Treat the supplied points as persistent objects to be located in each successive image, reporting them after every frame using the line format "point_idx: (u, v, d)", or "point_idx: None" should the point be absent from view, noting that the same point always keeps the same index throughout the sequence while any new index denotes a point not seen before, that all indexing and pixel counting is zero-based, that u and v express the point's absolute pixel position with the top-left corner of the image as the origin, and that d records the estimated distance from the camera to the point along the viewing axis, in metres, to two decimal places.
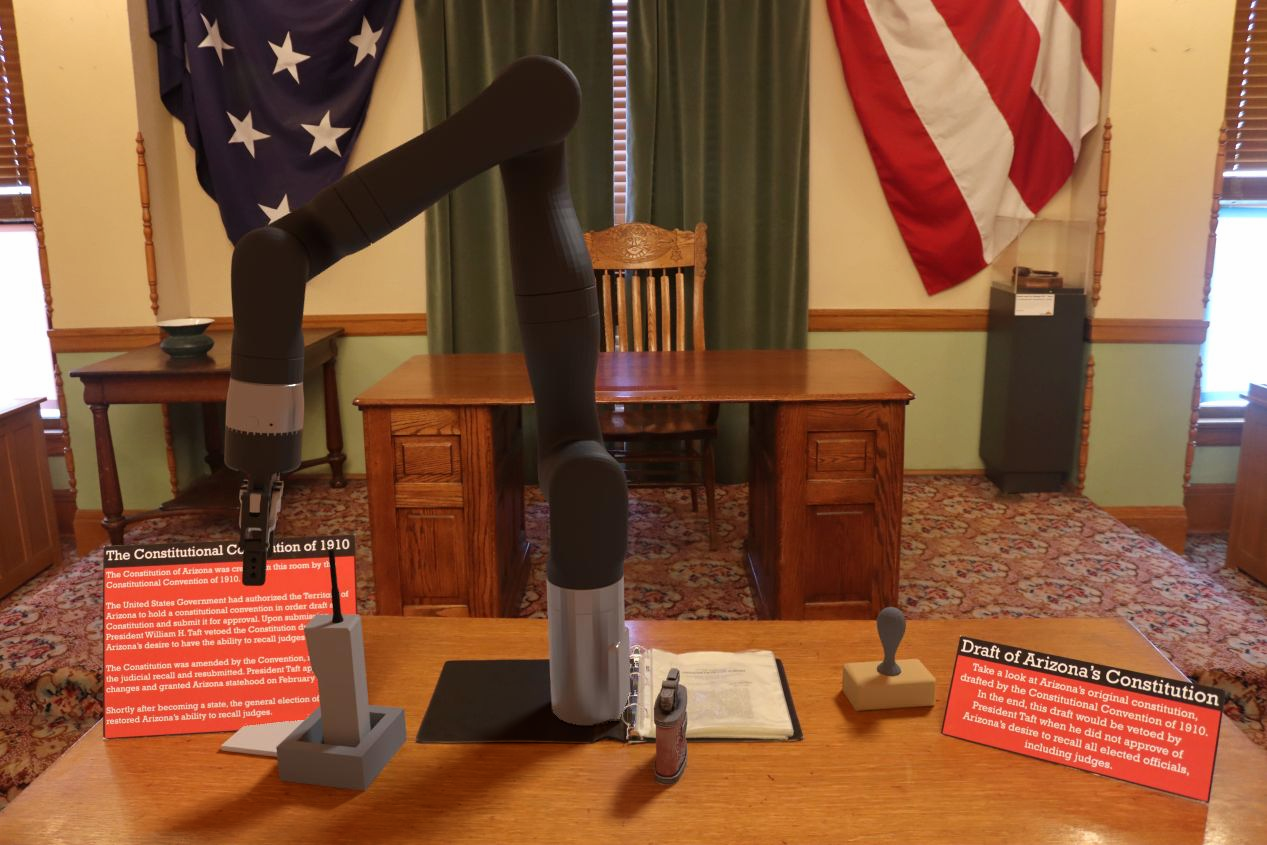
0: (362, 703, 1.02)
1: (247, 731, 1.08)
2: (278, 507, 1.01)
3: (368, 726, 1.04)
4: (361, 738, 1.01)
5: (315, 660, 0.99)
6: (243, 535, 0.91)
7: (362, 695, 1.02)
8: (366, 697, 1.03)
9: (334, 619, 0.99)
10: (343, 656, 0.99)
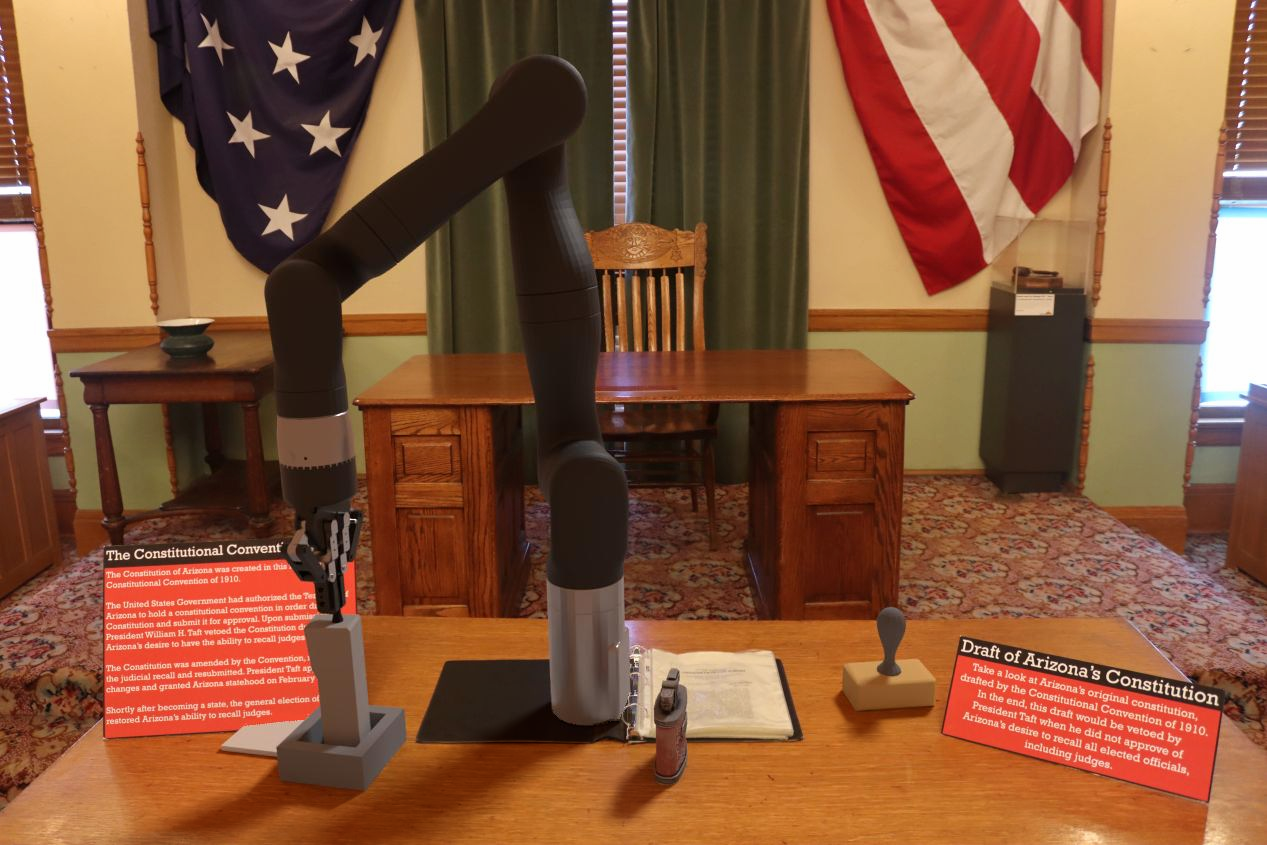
0: (362, 703, 1.02)
1: (247, 731, 1.08)
2: (342, 545, 0.98)
3: (368, 726, 1.04)
4: (361, 738, 1.01)
5: (315, 660, 0.99)
6: (298, 574, 0.95)
7: (362, 695, 1.02)
8: (366, 697, 1.03)
9: (334, 619, 0.99)
10: (343, 656, 0.99)
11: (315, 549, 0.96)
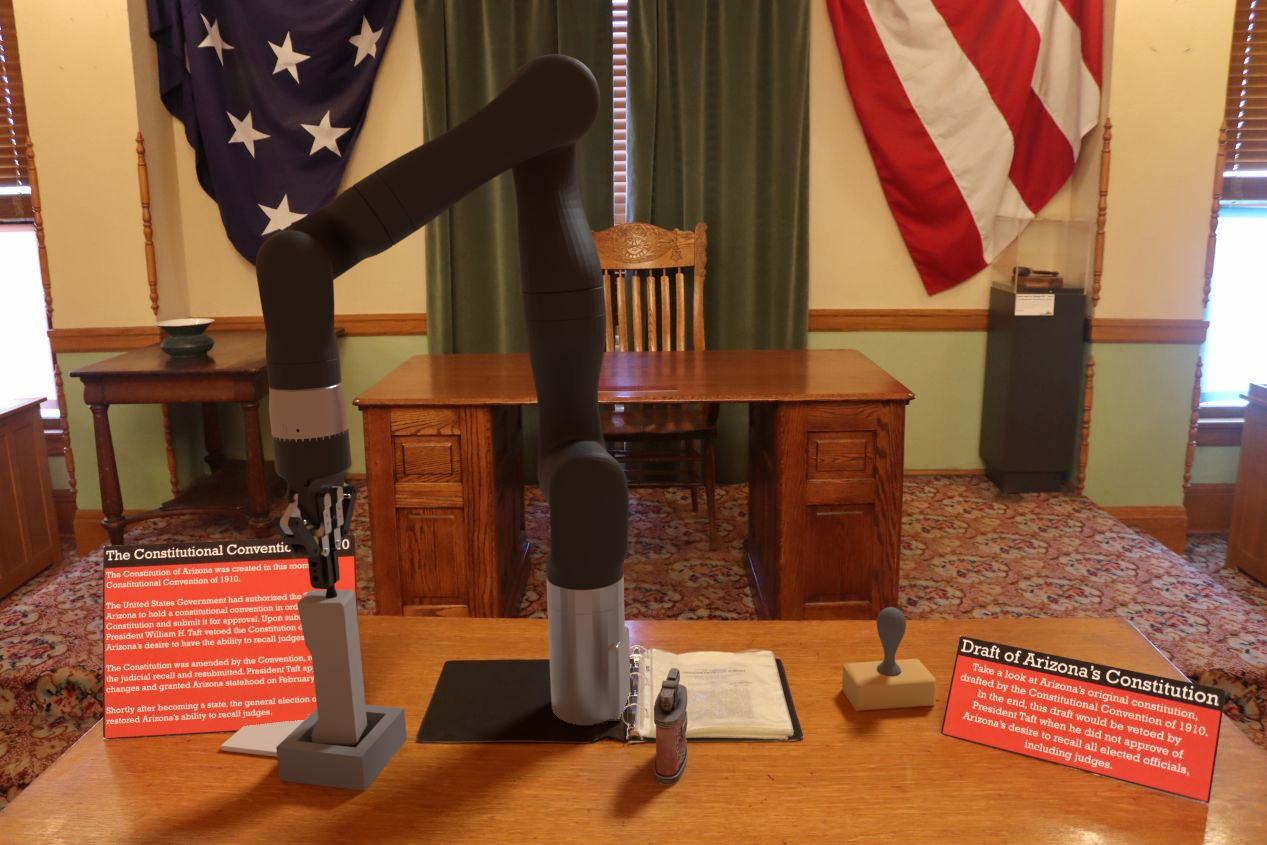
0: (356, 679, 1.01)
1: (247, 731, 1.08)
2: (335, 520, 0.98)
3: (363, 703, 1.03)
4: (356, 714, 1.01)
5: (309, 635, 0.98)
6: (291, 548, 0.94)
7: (356, 671, 1.01)
8: (361, 674, 1.03)
9: (328, 594, 0.99)
10: (337, 632, 0.98)
11: (308, 523, 0.95)
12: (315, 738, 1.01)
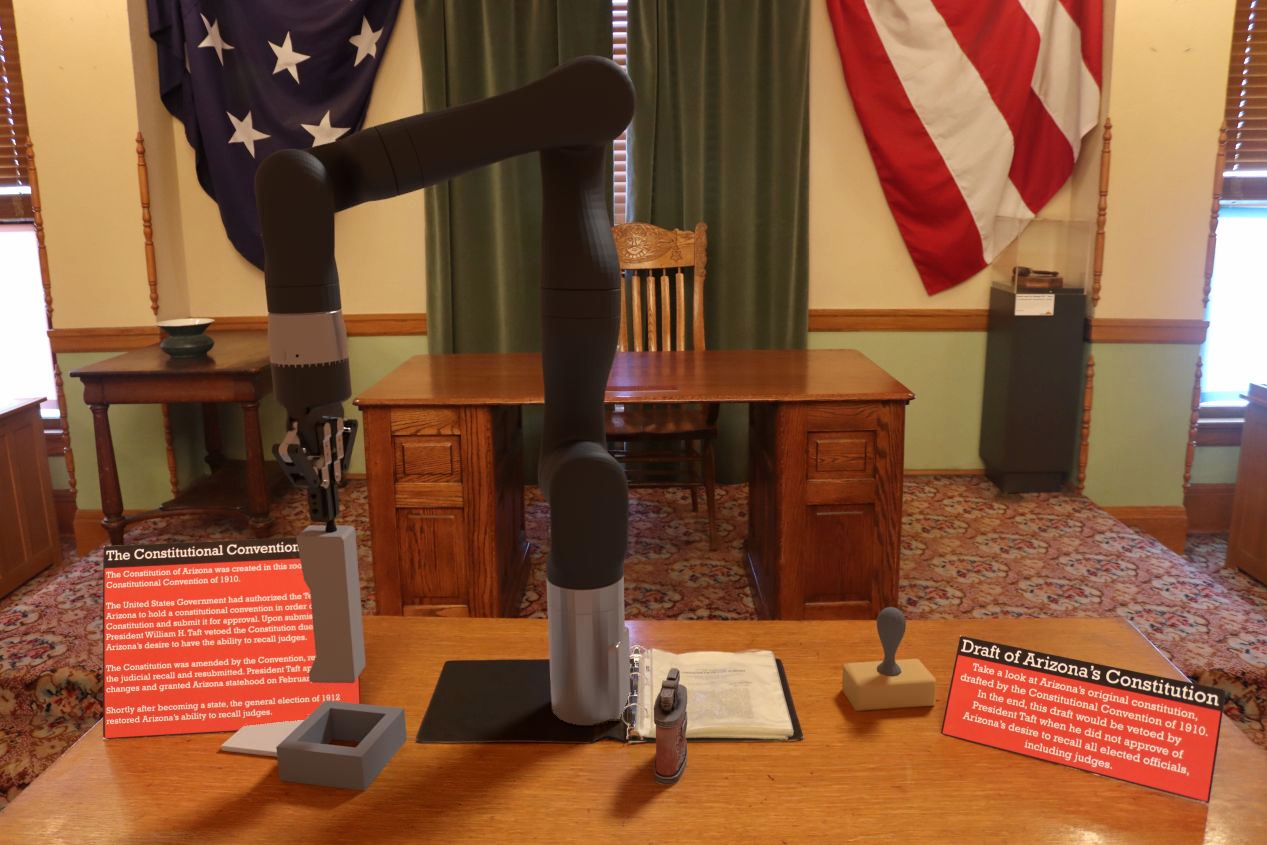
0: (355, 617, 1.00)
1: (247, 731, 1.08)
2: (335, 452, 0.96)
3: (361, 642, 1.01)
4: (354, 652, 0.99)
5: (307, 570, 0.97)
6: (290, 478, 0.92)
7: (355, 608, 0.99)
8: (360, 612, 1.01)
9: (327, 528, 0.97)
10: (336, 566, 0.96)
11: (308, 453, 0.93)
12: (313, 676, 0.99)
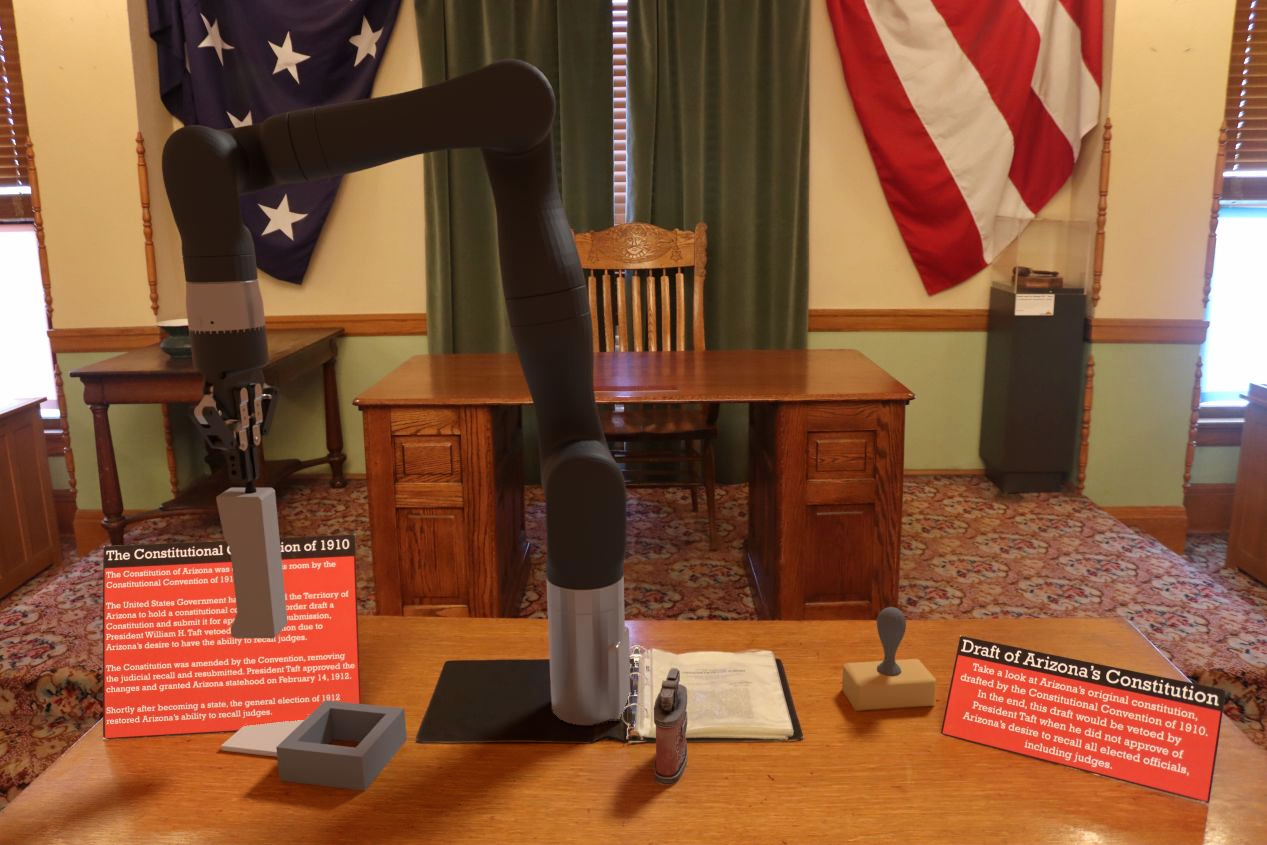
0: (275, 575, 1.04)
1: (247, 731, 1.08)
2: (254, 416, 1.01)
3: (283, 600, 1.06)
4: (274, 609, 1.04)
5: (227, 529, 1.01)
6: (208, 439, 0.97)
7: (275, 567, 1.04)
8: (281, 571, 1.06)
9: (247, 489, 1.02)
10: (255, 525, 1.01)
11: (225, 416, 0.98)
12: (234, 631, 1.04)
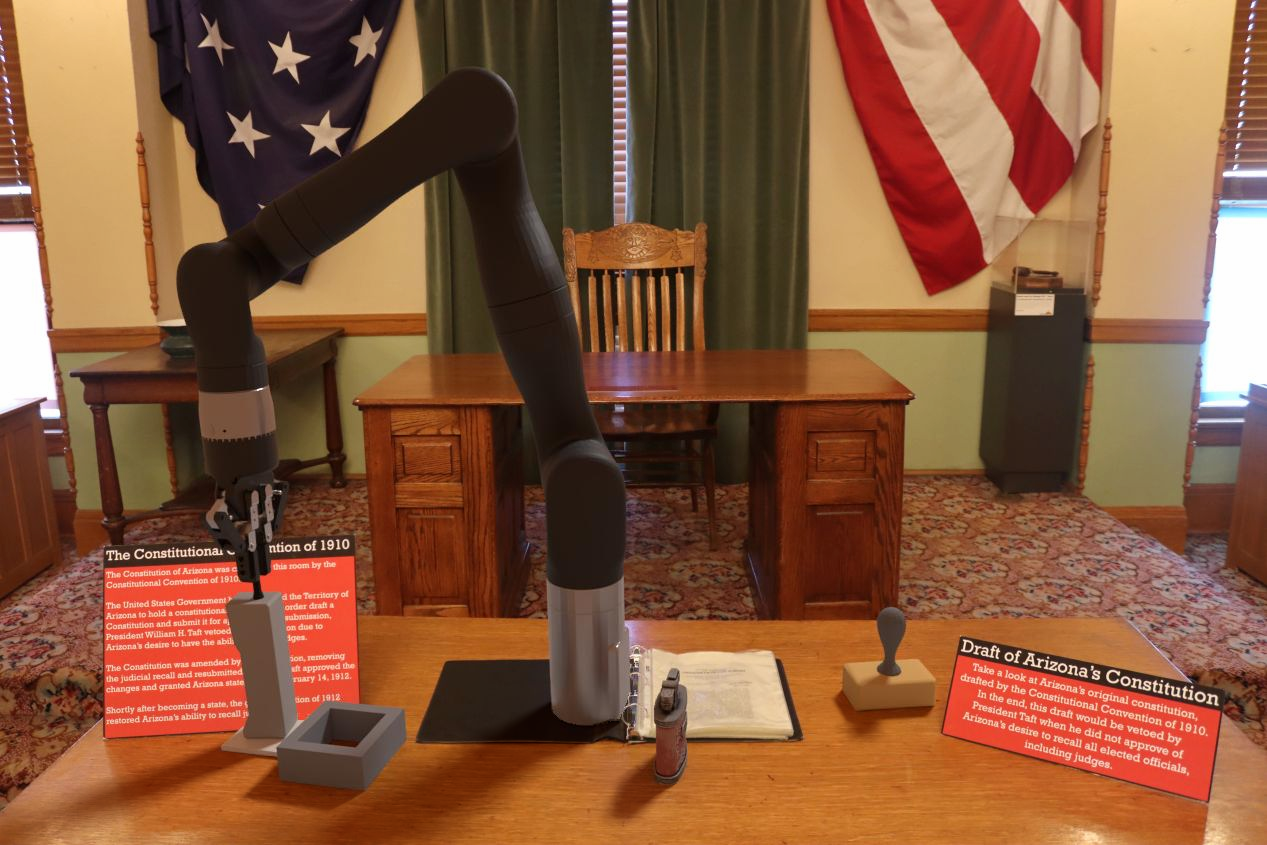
0: (285, 676, 1.07)
1: None
2: (265, 515, 1.03)
3: (292, 698, 1.09)
4: (284, 709, 1.06)
5: (237, 635, 1.04)
6: (217, 542, 0.99)
7: (284, 668, 1.07)
8: (290, 671, 1.08)
9: (254, 596, 1.04)
10: (263, 631, 1.04)
11: (236, 518, 1.00)
12: (246, 732, 1.07)
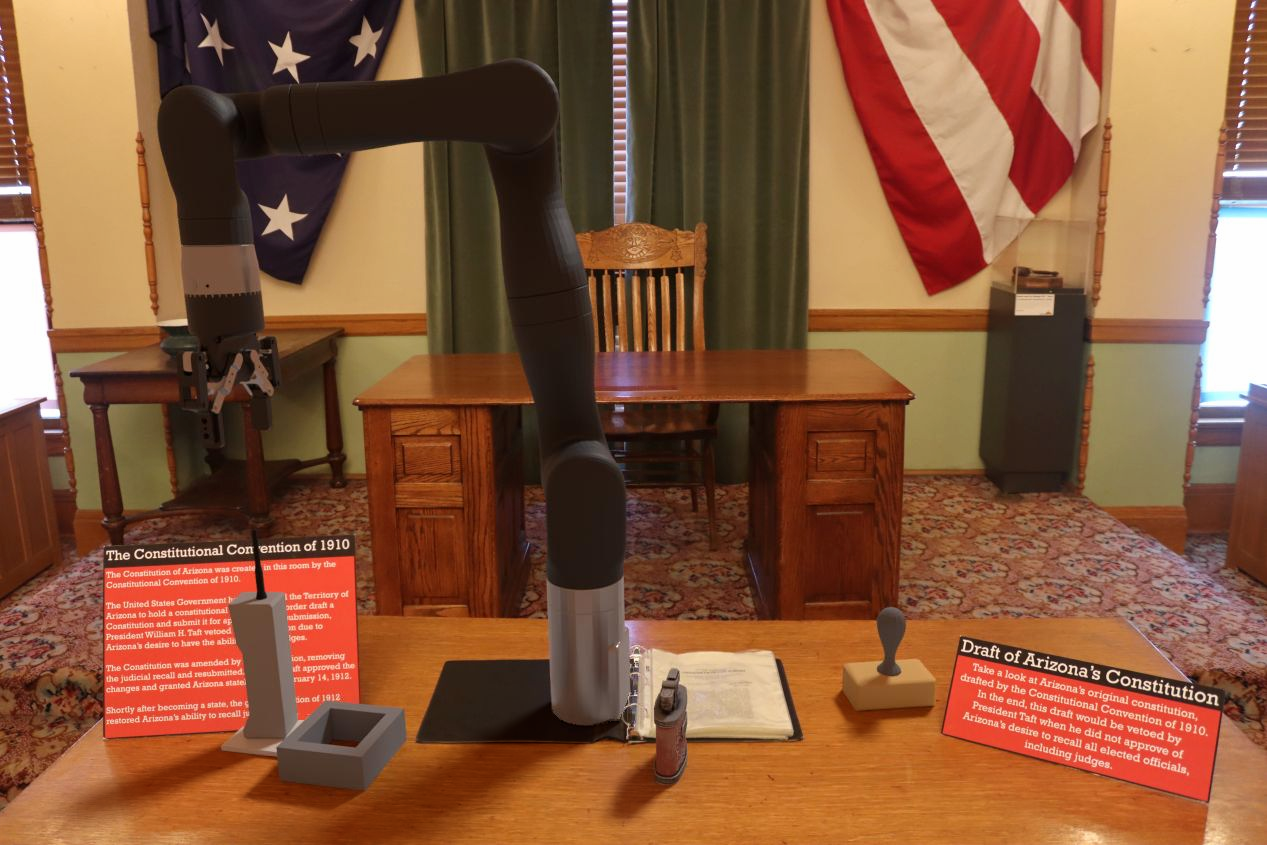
0: (286, 676, 1.07)
1: None
2: (260, 377, 1.02)
3: (293, 699, 1.09)
4: (285, 710, 1.06)
5: (239, 635, 1.04)
6: (181, 394, 0.93)
7: (286, 668, 1.07)
8: (291, 671, 1.08)
9: (258, 596, 1.04)
10: (266, 631, 1.04)
11: None
12: (247, 732, 1.07)
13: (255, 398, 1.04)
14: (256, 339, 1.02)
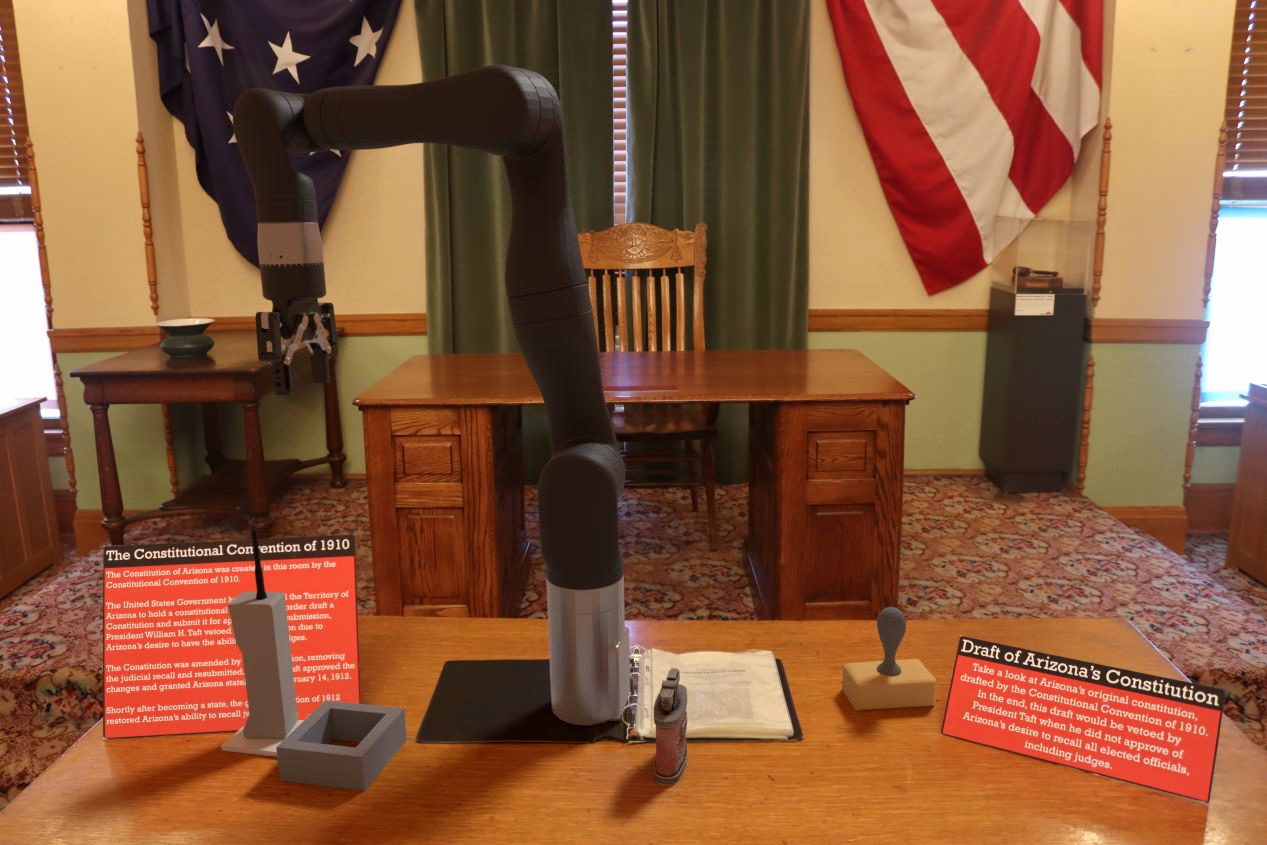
0: (286, 676, 1.07)
1: None
2: (321, 337, 1.19)
3: (293, 699, 1.09)
4: (285, 710, 1.06)
5: (239, 635, 1.04)
6: (259, 347, 1.10)
7: (286, 668, 1.07)
8: (291, 671, 1.08)
9: (258, 596, 1.04)
10: (266, 631, 1.04)
11: (289, 339, 1.15)
12: (247, 732, 1.07)
13: (315, 355, 1.21)
14: (317, 304, 1.19)
